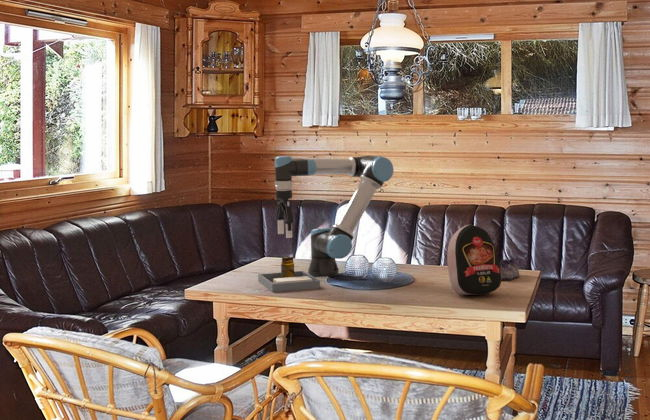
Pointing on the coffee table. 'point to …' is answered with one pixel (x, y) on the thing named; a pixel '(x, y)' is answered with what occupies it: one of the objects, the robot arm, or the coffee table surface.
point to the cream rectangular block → (291, 279)
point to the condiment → (287, 267)
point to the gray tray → (279, 287)
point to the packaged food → (473, 262)
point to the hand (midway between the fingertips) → (285, 235)
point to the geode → (509, 269)
